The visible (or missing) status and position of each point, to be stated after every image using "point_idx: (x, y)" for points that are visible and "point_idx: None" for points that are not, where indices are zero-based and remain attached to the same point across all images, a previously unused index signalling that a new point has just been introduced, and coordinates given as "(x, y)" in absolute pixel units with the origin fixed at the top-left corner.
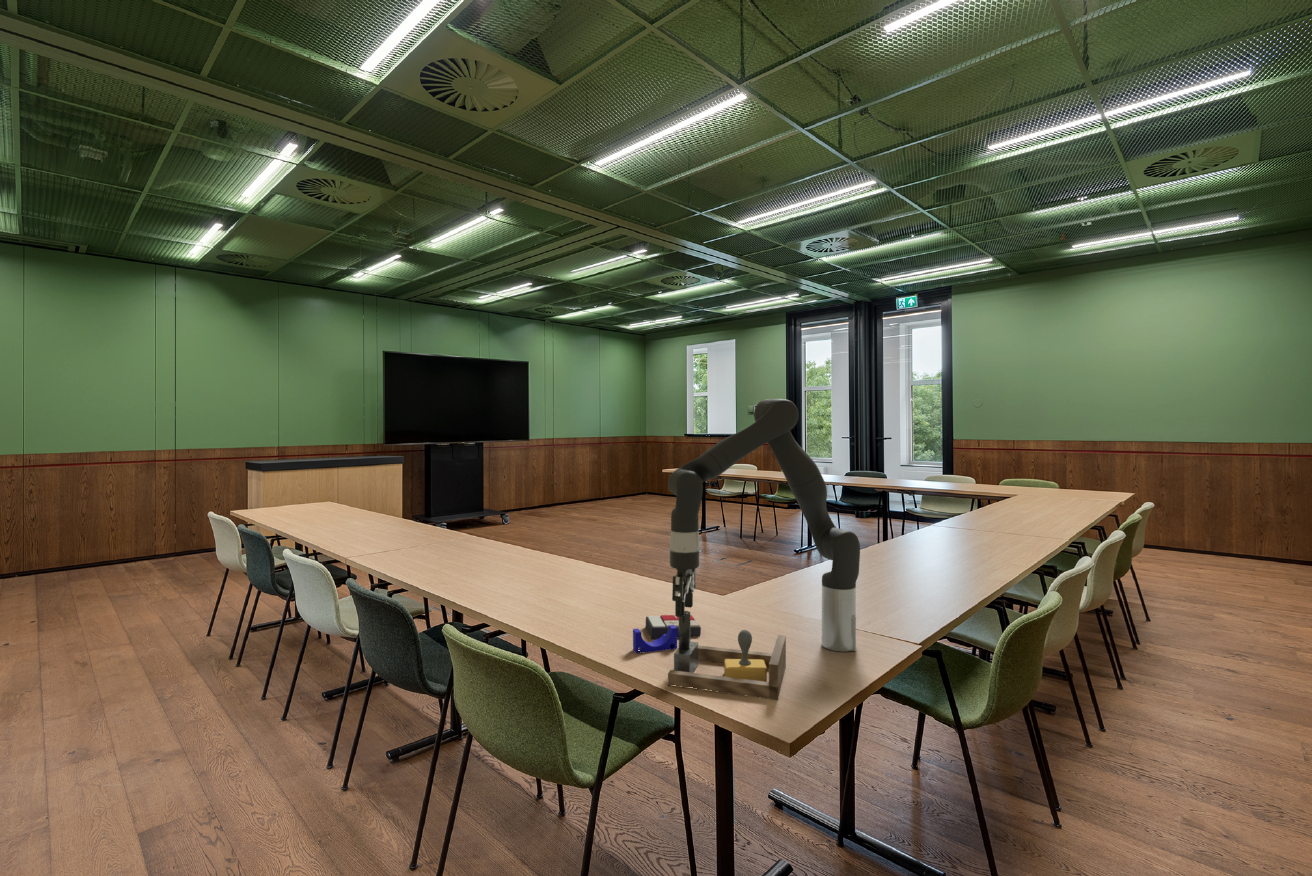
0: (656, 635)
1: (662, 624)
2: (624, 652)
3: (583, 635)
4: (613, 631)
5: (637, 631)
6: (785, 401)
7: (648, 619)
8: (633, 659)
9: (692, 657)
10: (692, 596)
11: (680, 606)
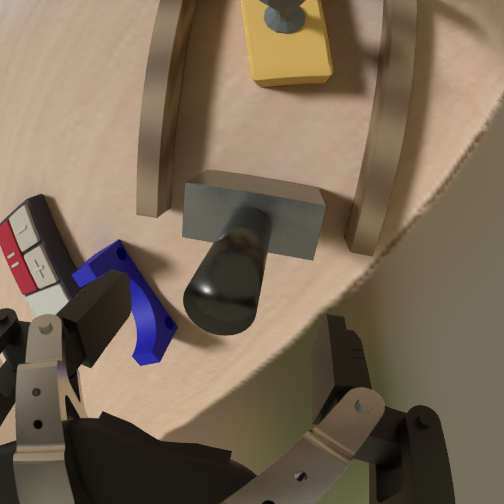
0: None
1: (55, 291)
2: (179, 346)
3: (133, 398)
4: None
5: (151, 358)
6: None
7: None
8: None
9: (282, 191)
10: (83, 305)
11: (366, 381)
